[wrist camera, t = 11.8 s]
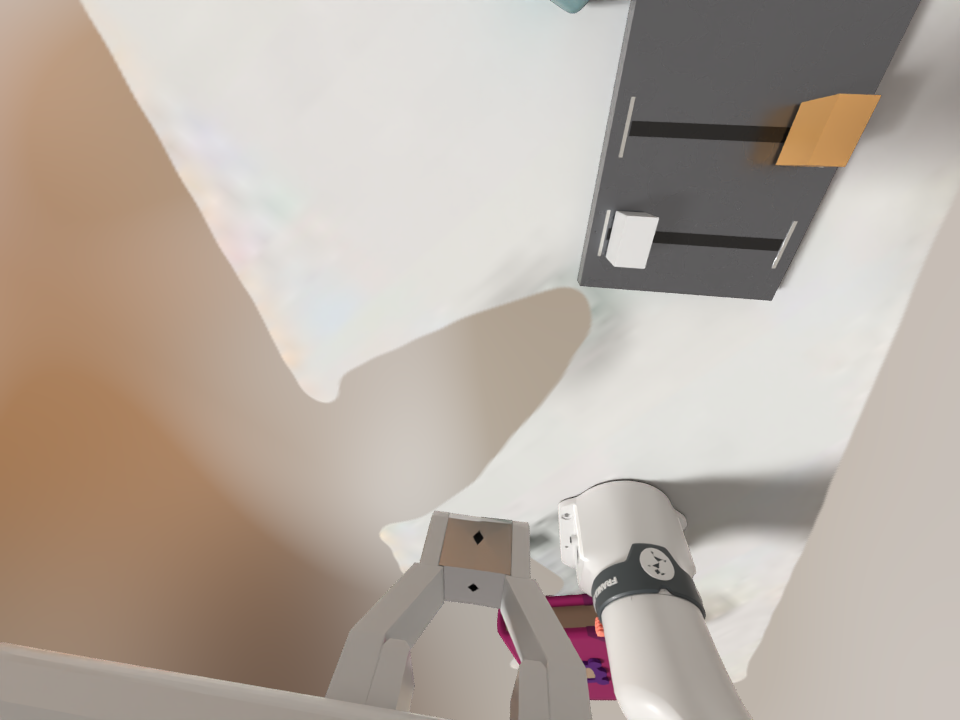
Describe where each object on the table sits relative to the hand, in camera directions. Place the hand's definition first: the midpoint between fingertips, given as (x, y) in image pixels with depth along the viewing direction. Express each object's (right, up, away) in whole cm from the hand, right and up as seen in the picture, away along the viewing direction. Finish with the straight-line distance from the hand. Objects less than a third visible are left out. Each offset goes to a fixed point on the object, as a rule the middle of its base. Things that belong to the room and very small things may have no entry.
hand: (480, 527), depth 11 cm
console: (+20, +22, +19) cm, 35 cm away
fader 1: (+13, +16, +20) cm, 29 cm away
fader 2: (+25, +22, +15) cm, 37 cm away
